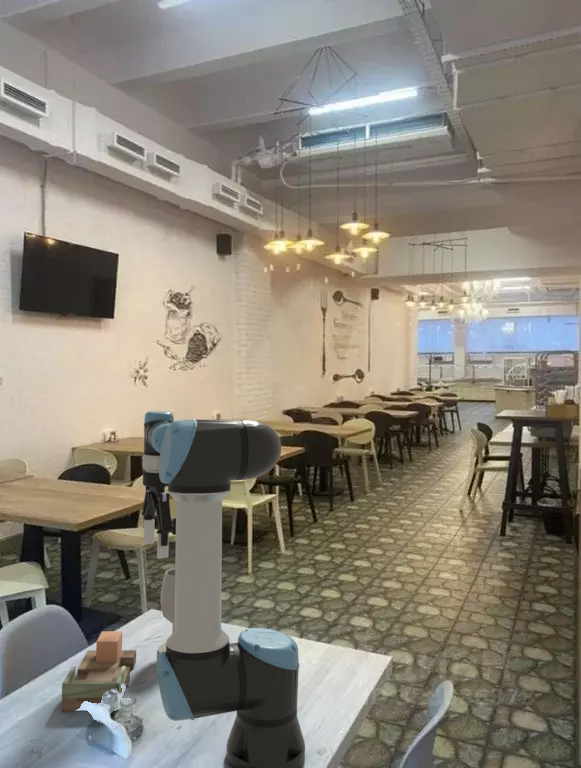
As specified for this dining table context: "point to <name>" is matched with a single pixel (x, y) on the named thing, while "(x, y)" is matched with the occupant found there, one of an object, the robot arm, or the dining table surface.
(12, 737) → the dining table surface
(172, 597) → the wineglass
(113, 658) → the block
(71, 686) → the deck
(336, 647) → the dining table surface
